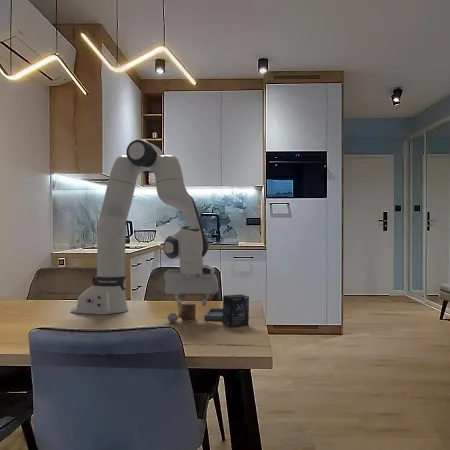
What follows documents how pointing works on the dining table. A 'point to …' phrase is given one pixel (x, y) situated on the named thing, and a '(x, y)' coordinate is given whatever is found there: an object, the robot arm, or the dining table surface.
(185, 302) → the wooden block
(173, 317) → the grey ball
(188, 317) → the walnut cube
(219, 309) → the slate tray
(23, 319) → the dining table surface
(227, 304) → the box
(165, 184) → the robot arm
